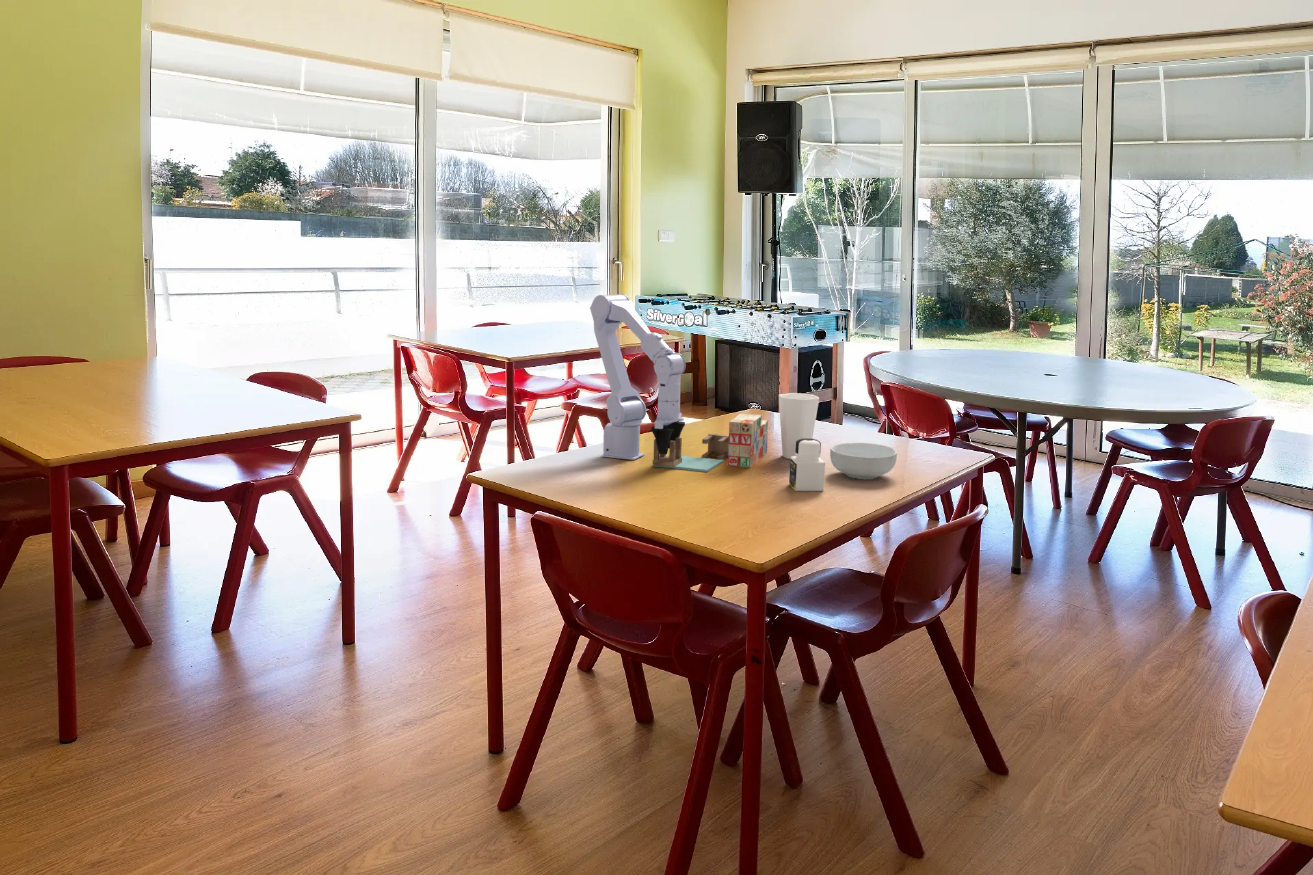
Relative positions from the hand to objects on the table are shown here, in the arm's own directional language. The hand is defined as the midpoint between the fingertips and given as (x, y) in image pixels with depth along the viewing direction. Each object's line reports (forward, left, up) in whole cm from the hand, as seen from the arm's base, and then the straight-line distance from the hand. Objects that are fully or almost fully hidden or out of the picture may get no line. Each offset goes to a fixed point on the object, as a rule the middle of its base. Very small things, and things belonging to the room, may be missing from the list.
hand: (667, 451), depth 277 cm
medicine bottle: (+39, -7, -4) cm, 40 cm away
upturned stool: (0, 0, -3) cm, 3 cm away
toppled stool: (+9, +11, -1) cm, 14 cm away
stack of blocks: (+17, +18, -4) cm, 25 cm away
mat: (+5, +4, -4) cm, 7 cm away
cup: (+28, +26, -4) cm, 38 cm away
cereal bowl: (+49, +12, -4) cm, 51 cm away
